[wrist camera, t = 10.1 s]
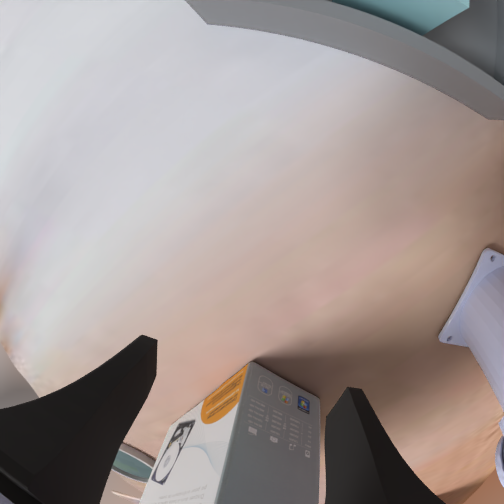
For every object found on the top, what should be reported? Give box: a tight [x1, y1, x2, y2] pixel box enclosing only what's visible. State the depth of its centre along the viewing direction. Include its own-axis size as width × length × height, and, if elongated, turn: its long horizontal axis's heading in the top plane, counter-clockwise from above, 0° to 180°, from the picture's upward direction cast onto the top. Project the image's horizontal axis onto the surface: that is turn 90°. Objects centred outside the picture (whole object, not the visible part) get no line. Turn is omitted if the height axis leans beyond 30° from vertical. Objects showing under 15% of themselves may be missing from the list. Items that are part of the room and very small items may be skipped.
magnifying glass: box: [111, 443, 155, 483], centre depth 34 cm, size 13×31×2 cm, turn 86°
